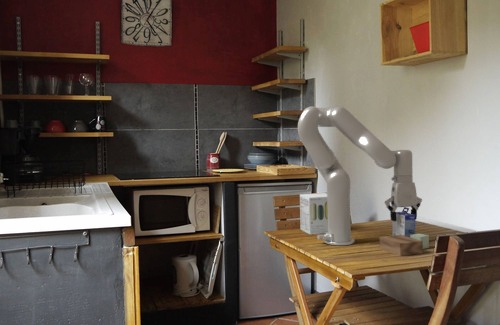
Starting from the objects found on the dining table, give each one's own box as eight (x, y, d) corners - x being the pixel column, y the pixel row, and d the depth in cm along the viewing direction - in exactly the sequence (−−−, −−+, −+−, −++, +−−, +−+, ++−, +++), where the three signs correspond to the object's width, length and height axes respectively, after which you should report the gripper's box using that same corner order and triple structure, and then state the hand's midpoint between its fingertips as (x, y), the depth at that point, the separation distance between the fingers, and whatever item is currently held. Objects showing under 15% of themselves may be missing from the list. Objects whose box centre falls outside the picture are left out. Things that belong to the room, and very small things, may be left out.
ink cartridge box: (416, 243, 213) (416, 209, 212) (404, 244, 212) (404, 209, 211) (403, 239, 223) (402, 205, 222) (391, 240, 221) (391, 206, 220)
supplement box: (309, 234, 238) (308, 197, 237) (300, 229, 251) (299, 194, 250) (336, 232, 241) (335, 195, 240) (325, 227, 254) (324, 192, 253)
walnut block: (400, 256, 194) (400, 243, 193) (379, 249, 207) (379, 236, 207) (422, 254, 197) (422, 241, 197) (401, 246, 210) (400, 234, 210)
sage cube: (420, 249, 203) (420, 236, 203) (410, 247, 208) (410, 235, 207) (429, 247, 206) (428, 235, 206) (418, 245, 210) (418, 233, 210)
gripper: (389, 181, 210) (390, 223, 211) (426, 179, 215) (426, 219, 216) (380, 179, 217) (380, 220, 218) (415, 177, 222) (416, 217, 223)
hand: (403, 219), depth 217 cm, fingers open, 9 cm apart
